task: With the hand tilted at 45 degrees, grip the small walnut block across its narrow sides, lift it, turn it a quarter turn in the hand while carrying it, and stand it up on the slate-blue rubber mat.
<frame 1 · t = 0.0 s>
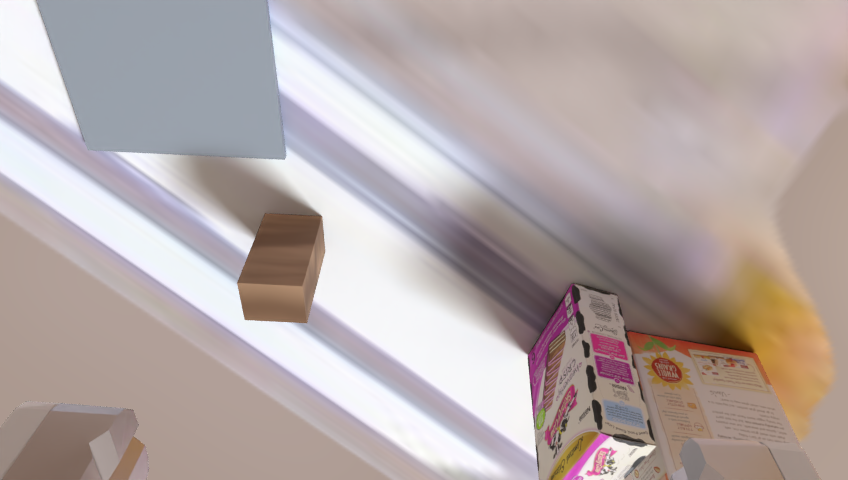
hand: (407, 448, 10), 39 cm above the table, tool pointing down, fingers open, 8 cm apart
walnut block: (295, 232, 57), on the table
rubber mat: (166, 56, 47), on the table
cracker box: (678, 357, 65), on the table
candy bar box: (568, 324, 63), on the table
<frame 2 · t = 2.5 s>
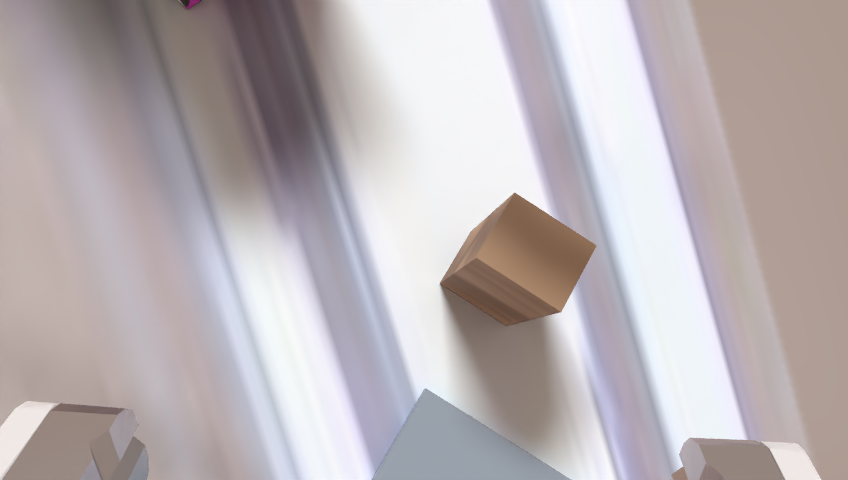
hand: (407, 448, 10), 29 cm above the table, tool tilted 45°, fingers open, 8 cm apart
walnut block: (488, 278, 41), on the table
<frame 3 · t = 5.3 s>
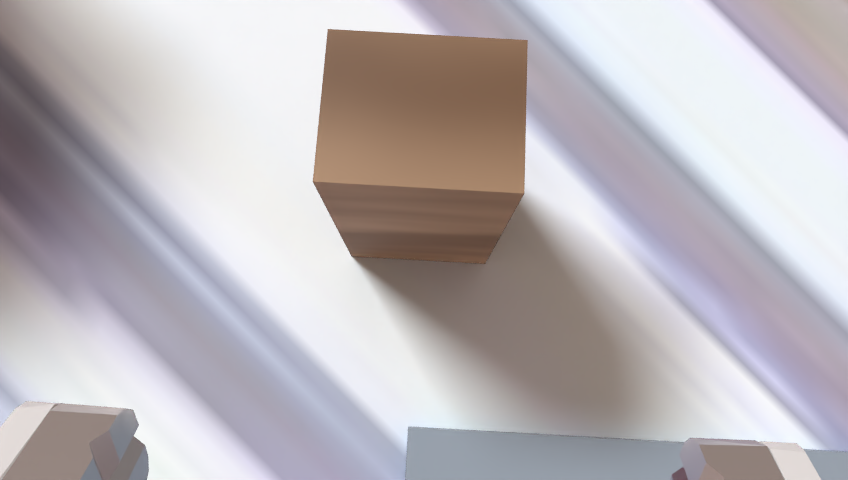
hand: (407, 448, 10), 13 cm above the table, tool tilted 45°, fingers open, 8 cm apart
walnut block: (421, 208, 24), on the table
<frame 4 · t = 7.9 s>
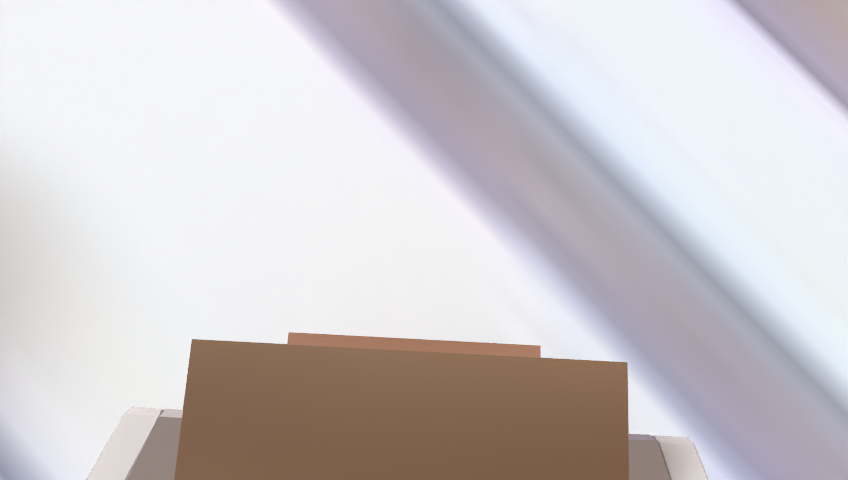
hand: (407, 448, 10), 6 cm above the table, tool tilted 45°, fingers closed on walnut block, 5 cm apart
walnut block: (413, 448, 16), on the table, touching gripper
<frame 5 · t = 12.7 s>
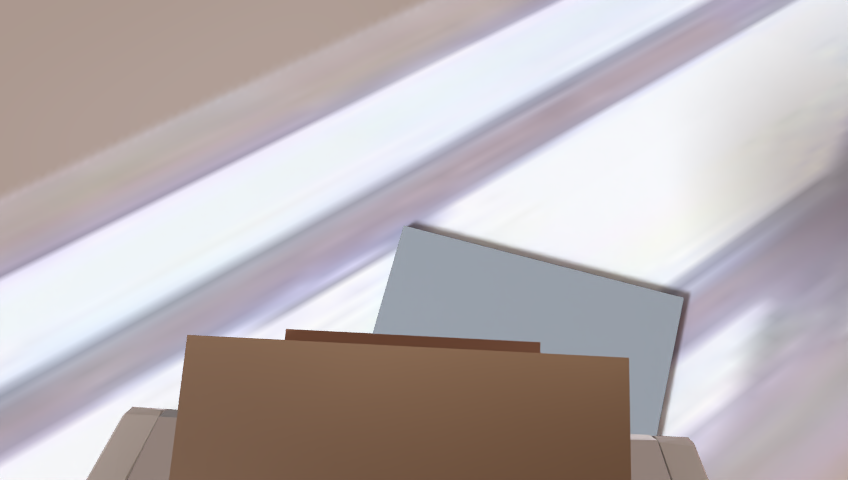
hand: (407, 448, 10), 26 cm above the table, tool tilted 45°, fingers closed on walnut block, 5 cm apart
walnut block: (412, 446, 16), point 20 cm above the table, touching gripper
rubber mat: (505, 402, 35), on the table
when the fingers open (8 cm above the table, at t = 17.5 s): walnut block drops 1 cm, resting on rubber mat.
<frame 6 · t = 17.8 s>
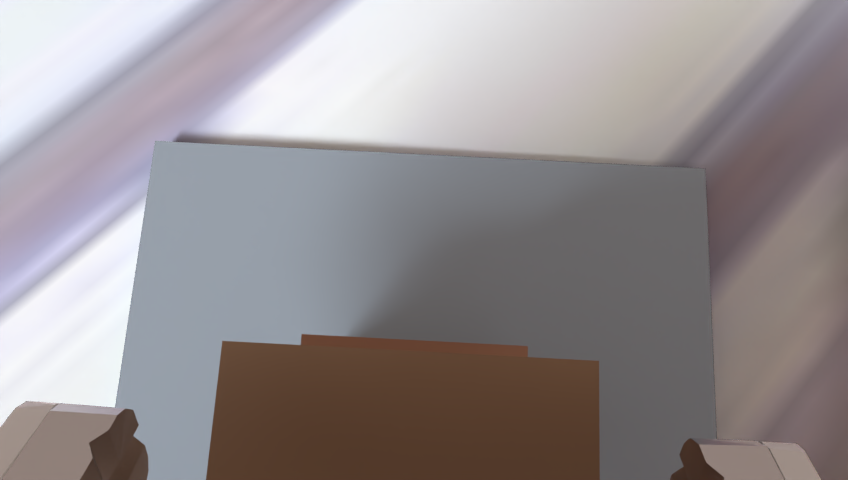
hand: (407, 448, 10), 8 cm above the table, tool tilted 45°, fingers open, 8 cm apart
walnut block: (413, 441, 17), point 1 cm above the table, touching rubber mat
rubber mat: (413, 439, 17), on the table
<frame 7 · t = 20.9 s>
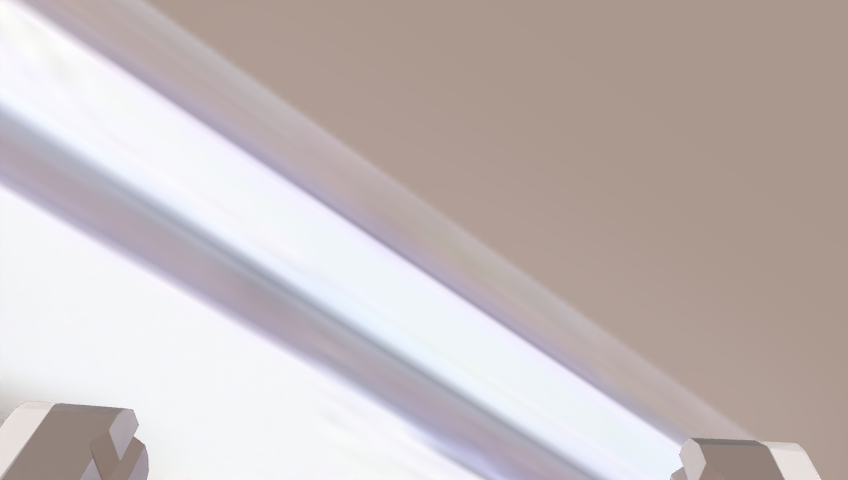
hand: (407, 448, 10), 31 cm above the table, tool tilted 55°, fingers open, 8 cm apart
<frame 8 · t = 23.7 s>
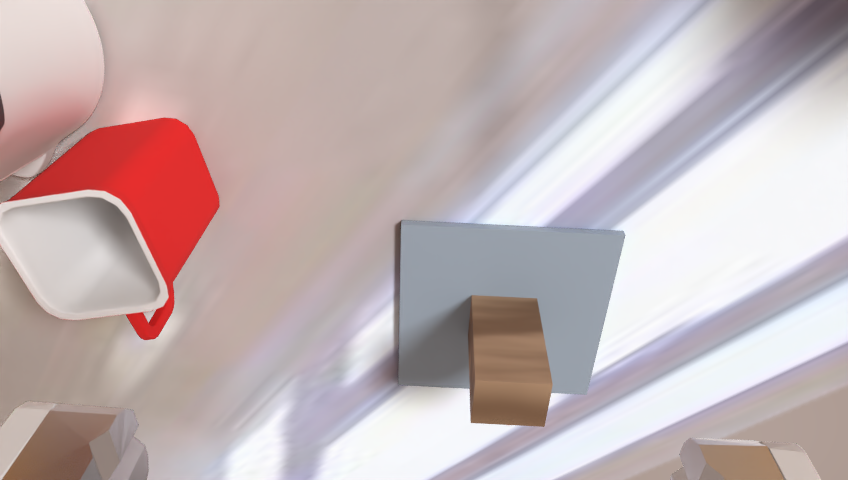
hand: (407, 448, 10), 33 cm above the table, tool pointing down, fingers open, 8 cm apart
mug: (166, 195, 46), on the table
walnut block: (501, 316, 50), point 1 cm above the table, touching rubber mat
rubber mat: (501, 311, 50), on the table
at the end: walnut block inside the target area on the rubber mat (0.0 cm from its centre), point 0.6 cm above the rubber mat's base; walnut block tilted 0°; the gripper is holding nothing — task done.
